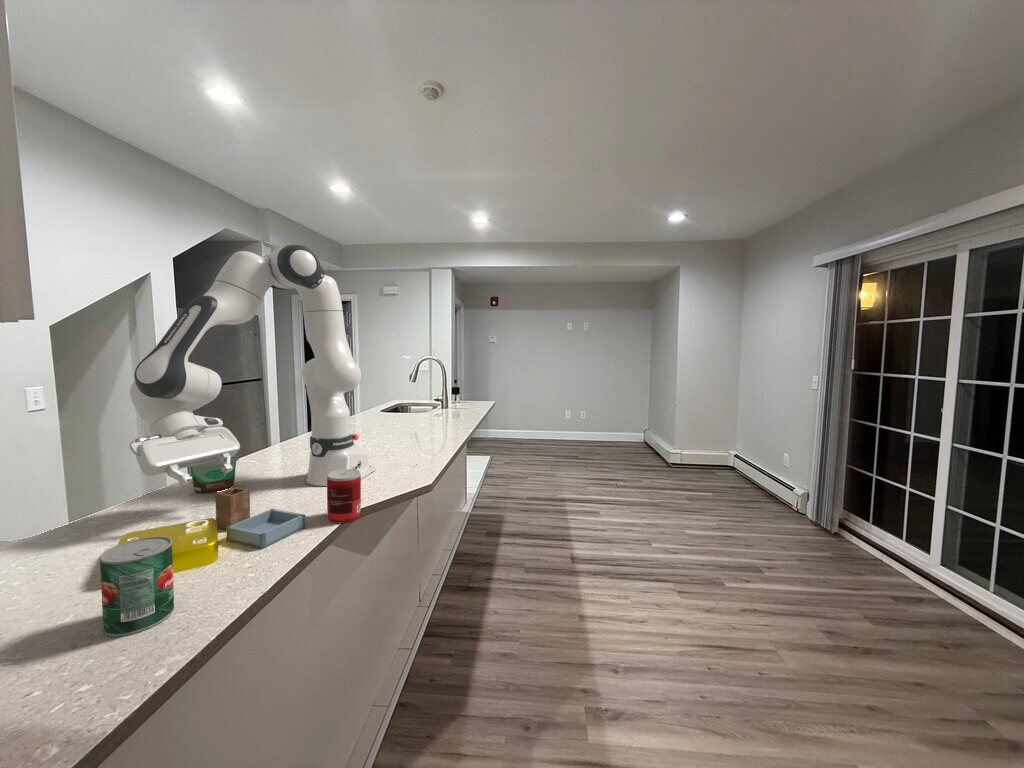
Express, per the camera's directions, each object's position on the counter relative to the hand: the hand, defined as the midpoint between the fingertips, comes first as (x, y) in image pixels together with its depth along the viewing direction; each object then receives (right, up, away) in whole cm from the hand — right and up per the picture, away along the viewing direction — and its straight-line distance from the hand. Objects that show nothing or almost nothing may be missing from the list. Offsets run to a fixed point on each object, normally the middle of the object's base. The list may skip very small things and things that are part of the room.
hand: (208, 476), depth 93 cm
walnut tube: (+7, -11, -1) cm, 13 cm away
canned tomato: (+15, -14, -33) cm, 39 cm away
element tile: (+5, -13, -16) cm, 21 cm away
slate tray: (+17, -11, -5) cm, 21 cm away
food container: (-13, -9, +21) cm, 26 cm away
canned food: (+30, -11, +5) cm, 32 cm away
